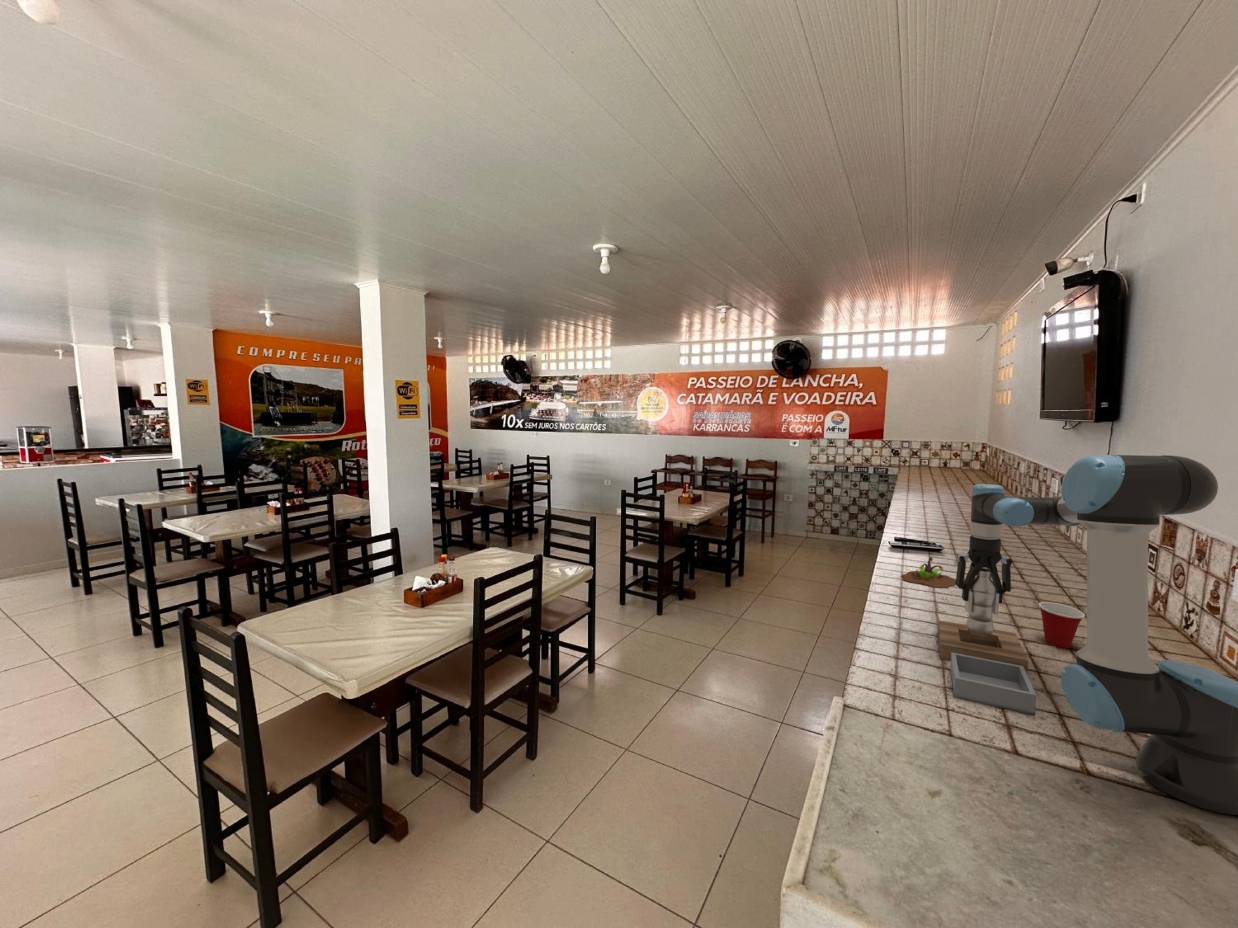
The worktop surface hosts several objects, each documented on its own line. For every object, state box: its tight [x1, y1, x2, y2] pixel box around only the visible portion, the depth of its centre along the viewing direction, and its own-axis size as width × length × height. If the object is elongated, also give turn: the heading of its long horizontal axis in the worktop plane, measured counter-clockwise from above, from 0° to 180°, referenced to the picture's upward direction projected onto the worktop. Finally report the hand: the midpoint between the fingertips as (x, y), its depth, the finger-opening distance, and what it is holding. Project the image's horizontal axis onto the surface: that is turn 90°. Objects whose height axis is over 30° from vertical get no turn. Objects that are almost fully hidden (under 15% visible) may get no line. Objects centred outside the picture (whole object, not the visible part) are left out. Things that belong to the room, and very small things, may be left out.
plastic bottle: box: [965, 568, 996, 636], centre depth 149 cm, size 6×7×20 cm
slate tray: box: [949, 652, 1037, 716], centre depth 129 cm, size 16×16×5 cm
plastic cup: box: [1038, 601, 1086, 649], centre depth 154 cm, size 11×11×12 cm
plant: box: [900, 556, 956, 590], centre depth 213 cm, size 20×20×11 cm
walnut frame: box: [937, 619, 1029, 674], centre depth 150 cm, size 20×20×4 cm
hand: (981, 612), depth 149 cm, fingers closed on plastic bottle, 6 cm apart
